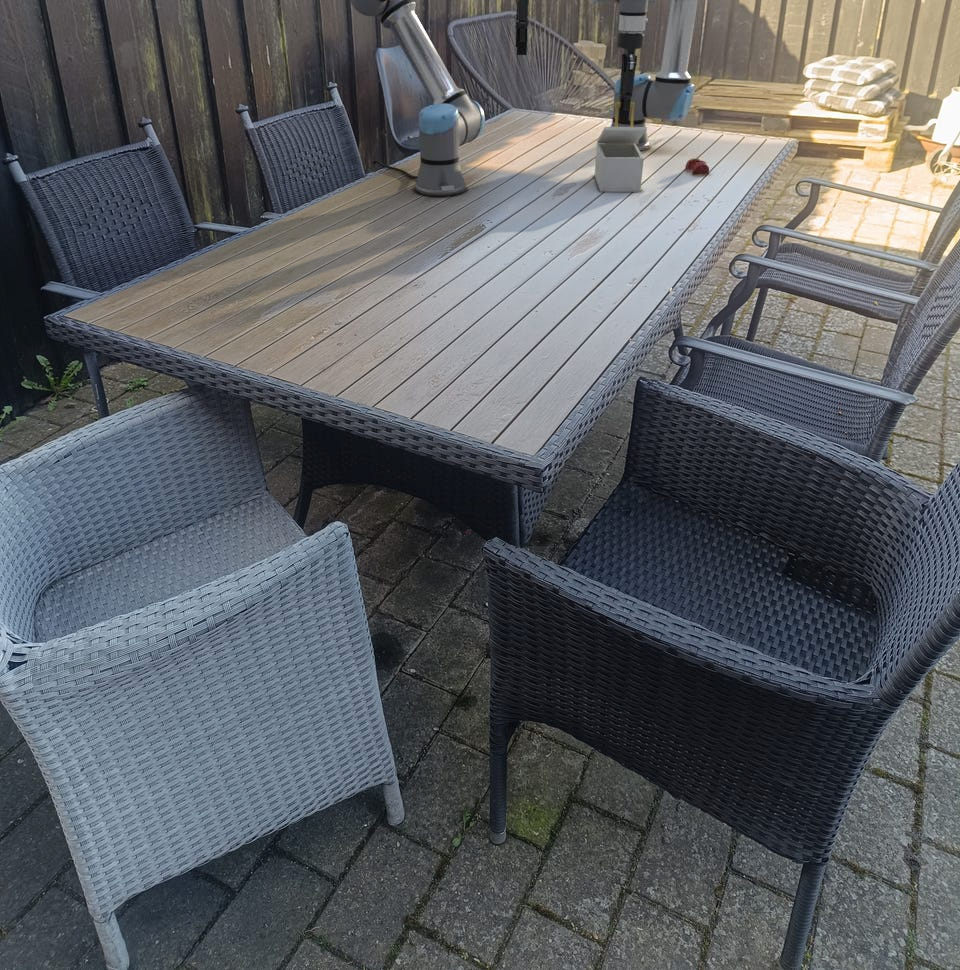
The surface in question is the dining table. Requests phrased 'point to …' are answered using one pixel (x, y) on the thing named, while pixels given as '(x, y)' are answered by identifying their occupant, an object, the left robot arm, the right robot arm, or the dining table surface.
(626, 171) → the chest
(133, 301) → the dining table surface
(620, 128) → the lid
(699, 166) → the dark red lumpy piece
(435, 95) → the left robot arm
